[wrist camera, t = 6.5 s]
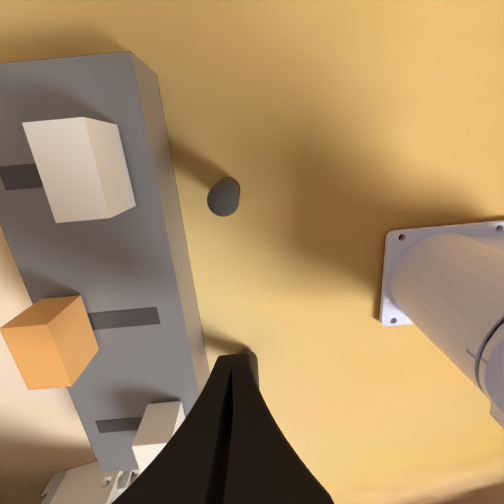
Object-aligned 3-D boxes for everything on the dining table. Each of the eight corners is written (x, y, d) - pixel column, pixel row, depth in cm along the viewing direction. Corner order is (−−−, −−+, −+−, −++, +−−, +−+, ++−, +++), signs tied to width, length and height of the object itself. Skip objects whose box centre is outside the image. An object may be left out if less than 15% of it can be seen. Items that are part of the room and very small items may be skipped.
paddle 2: (181, 400, 20) (170, 442, 17) (190, 440, 21) (182, 485, 18) (147, 404, 20) (131, 446, 17) (159, 443, 21) (146, 488, 18)
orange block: (80, 295, 16) (46, 324, 14) (99, 349, 18) (71, 386, 15) (41, 298, 17) (-1, 328, 14) (62, 352, 18) (28, 390, 15)
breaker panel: (156, 74, 16) (129, 50, 13) (217, 417, 26) (213, 463, 22) (7, 88, 16) (-65, 69, 13) (122, 426, 26) (101, 473, 22)
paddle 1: (117, 124, 13) (83, 116, 11) (136, 205, 15) (110, 218, 12) (68, 129, 13) (21, 122, 11) (91, 209, 15) (55, 222, 12)
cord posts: (239, 175, 18) (237, 184, 13) (257, 360, 24) (261, 425, 18) (215, 177, 18) (202, 187, 13) (239, 362, 24) (237, 427, 18)
